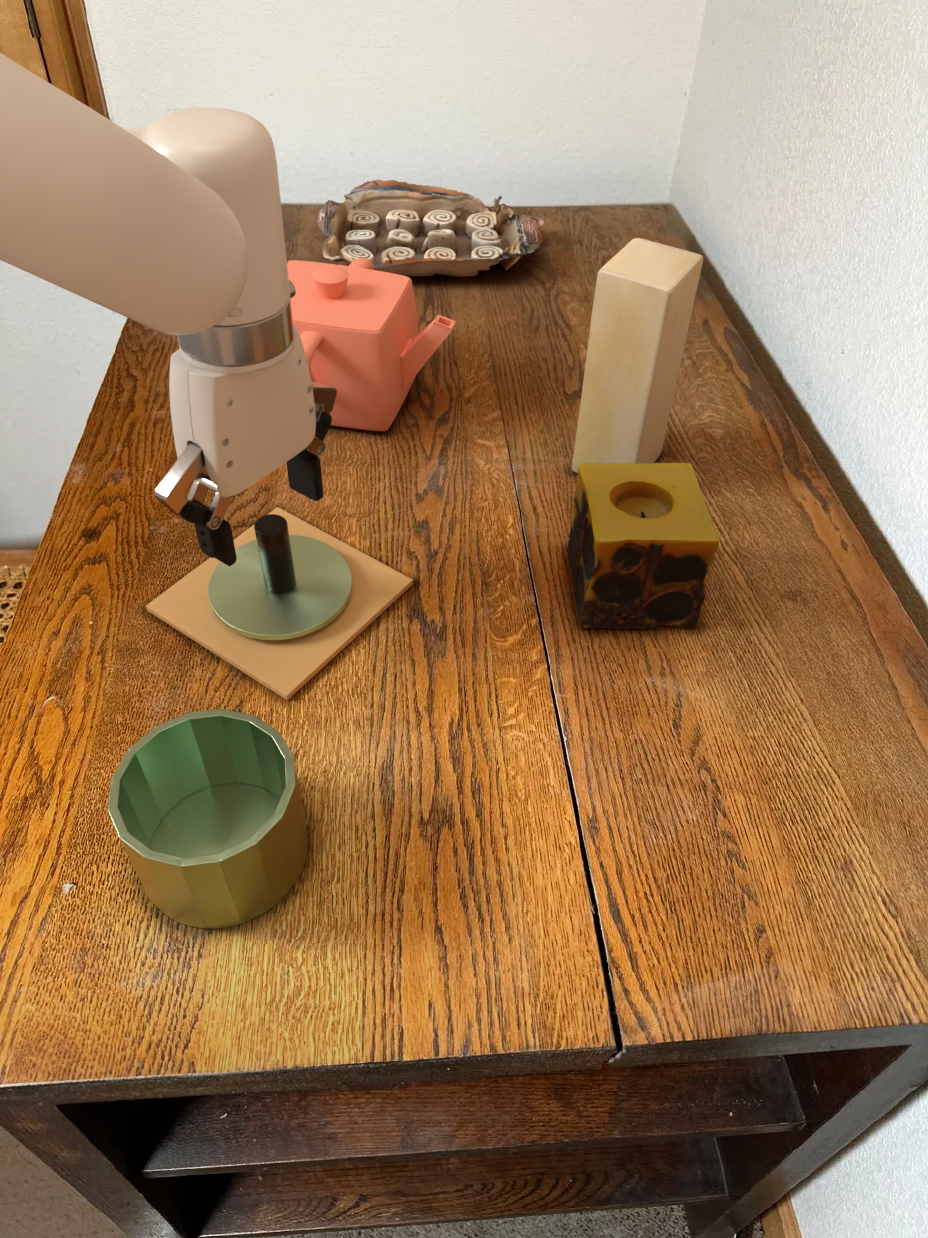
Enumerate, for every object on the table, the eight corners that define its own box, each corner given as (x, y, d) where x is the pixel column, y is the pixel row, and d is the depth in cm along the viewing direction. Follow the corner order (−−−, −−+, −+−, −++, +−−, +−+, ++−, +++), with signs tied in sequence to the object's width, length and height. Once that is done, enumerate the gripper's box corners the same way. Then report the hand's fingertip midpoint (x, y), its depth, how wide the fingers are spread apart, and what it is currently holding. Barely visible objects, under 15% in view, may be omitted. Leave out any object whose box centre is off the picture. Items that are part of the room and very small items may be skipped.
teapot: (234, 442, 94) (210, 317, 84) (310, 332, 109) (297, 214, 99) (424, 475, 92) (423, 350, 81) (475, 358, 106) (480, 239, 96)
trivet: (287, 700, 72) (286, 696, 72) (146, 610, 78) (145, 605, 78) (413, 584, 81) (413, 579, 81) (278, 511, 87) (277, 506, 87)
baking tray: (529, 212, 132) (532, 172, 128) (559, 287, 118) (563, 245, 114) (316, 218, 129) (313, 178, 125) (320, 297, 115) (316, 254, 111)
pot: (224, 963, 58) (199, 901, 52) (105, 866, 63) (69, 798, 56) (341, 835, 65) (332, 766, 58) (225, 754, 69) (205, 682, 63)
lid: (285, 668, 74) (273, 601, 68) (180, 602, 78) (160, 534, 73) (381, 582, 81) (377, 515, 75) (278, 526, 85) (268, 458, 80)
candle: (697, 630, 79) (725, 543, 71) (579, 632, 78) (594, 544, 71) (674, 547, 86) (697, 460, 78) (564, 549, 85) (577, 461, 78)
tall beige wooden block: (597, 429, 98) (628, 232, 82) (662, 452, 95) (707, 254, 80) (562, 469, 93) (589, 268, 77) (630, 495, 90) (671, 293, 75)
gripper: (283, 260, 67) (303, 454, 80) (89, 358, 57) (146, 563, 70) (364, 292, 64) (371, 488, 77) (174, 402, 54) (218, 607, 67)
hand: (264, 523), depth 73 cm, fingers open, 9 cm apart
